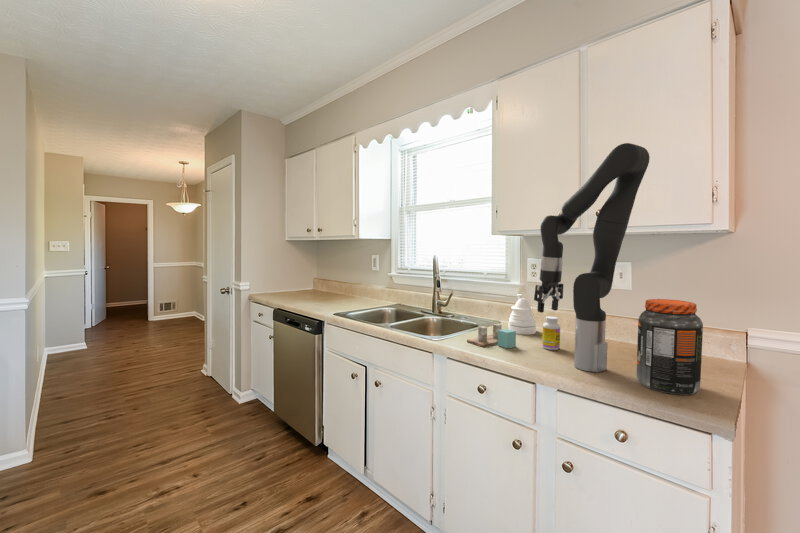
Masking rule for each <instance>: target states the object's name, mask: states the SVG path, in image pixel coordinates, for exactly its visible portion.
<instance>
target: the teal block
mask: <svg viewBox="0 0 800 533" xmlns="http://www.w3.org/2000/svg"><path fill="white" fill-rule="evenodd" d="M497 346H498V347H500V346H501V348H504V347H505V348H504V349H507V348H508V349H511V347H512V348H515V347H517V334H516V331H513V330H509V329H508V328H504V329H502V328H501V330H498V344H497Z"/></svg>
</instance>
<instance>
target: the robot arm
mask: <svg viewBox="0 0 800 533" xmlns="http://www.w3.org/2000/svg"><path fill="white" fill-rule="evenodd" d="M650 158H651V157H650V153H649V151H648V150H647V149H646V148H645V147H643V146H641V145H638V144H634V143H630V142H628V143H627V142H625V143H621V144H619V145H617V146H616V147H614V148H613V149H612V150H611V151H610V153H609V154H608V155H607V156H606V158H605V159H603V161H602V163H601V164H600V165H599V166H598V167H597V169H596V170H595V171H594V172H593V173H592V175H591V176H590V177H589V178H588V179H587V181H586V182H585V183H584V184H583V185H582V186H581V187H580V188H579V189H578V190H576V192H575V193H573V195H572V196H571V197H570V198H568V199H567V200H566V201H565V202H564V203H563V204H562V206H561V208H560V209H561V210H560V211H561V212H560V213H559V214H558V215H546V216H545V217H544V218H543V219H542V220H541V223H540V229H539V230H540V235H541V242H542V255H541V261H540V269H539V270H540V273H539V280H540V282H541V285H540V284H535V288H534V297H533V301H535V302H537V312H538V313H541V314H543V313H544V312H545V302H546V300H547V299H549V297H551V298H552V301H551V310H552V311H558V308H559V302H560V300H563V298H564V283H561V281H562V273H563V254H564V244H563V243H562V242H561V241H559V235H563V234H565V233H567V232H568V231H569V230H570V229H571V228H572V227H573V225H574V224H575V223H576V221H577V220H578V218H579V217H581V216H582V215H583V214H584V213H585V212H587V211H588V210H590V208H591V207H592V206H593V205H594V204H595V203H596V202H597V200H598V198H599V196H600V195H601V193H603V191H604V190H605V188H606V187H607V186H608V185H609V184H610V183H612V182H613V181H614V180H615V183H614V187H613V189H612V191H611V193H610V194H609V196H608V198H607V199H606V201H605V202H604V204H603V205H602V206H601V208H600V210H599V212H598V214H597V217H596V220H595V223H594V226H593V233H592V240H593V246H594V259H593V263H592V265H591V269H590V272H584V273H580V274H579V275H577V277H575V279H574V283H573V287H572V288H573V290H572V292H573V295H572V296H573V300H572V302H573V310H574V312H575V331H574V332H575V333H574V361H573V362H574V365H573V366H574V367H575V368H576V369H578V370H582V371H585V372H591V373H597V374H598V373H600V372H603V371H607V369H608V346H609V345H608V342H607V341H606V324H607V322H606V321H607V314H606V311H604V310H603V309H602V308H601V299H604V298H605V297H607V296H608V295H609V293H611V290H612V286H613V282H614V281H613V280H614V277H615V269H616V265H617V261H618V258H619V255H620V251H621V247H622V244H623V241H624V237H625V235H626V232H627V228H628V226H629V222H630V217H631V214H632V210H633V208H634V204H635V201H636V198H637V197H636V196H637V193H638V190H639V188H640V185H641V183H642V181H643V179H644V176H645V173H646V172H647V168H648V167H649V164H650Z"/></svg>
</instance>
